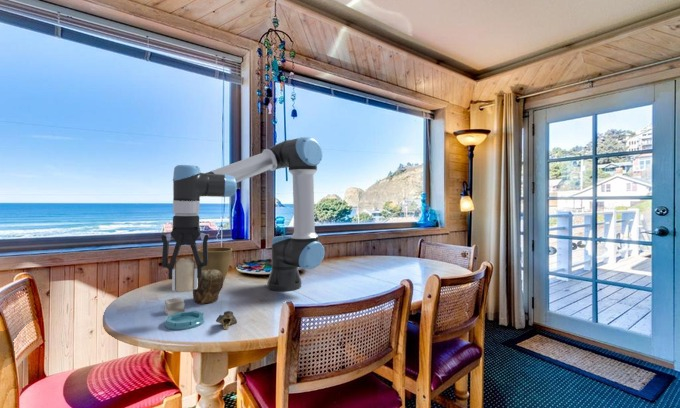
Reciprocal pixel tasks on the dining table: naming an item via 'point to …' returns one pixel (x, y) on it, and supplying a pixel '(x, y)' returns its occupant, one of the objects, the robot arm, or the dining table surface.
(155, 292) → the dining table surface
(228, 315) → the shark head
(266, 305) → the dining table surface
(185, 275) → the candle
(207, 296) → the brown rough lump
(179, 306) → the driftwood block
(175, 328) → the candle dish
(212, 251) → the plant pot
